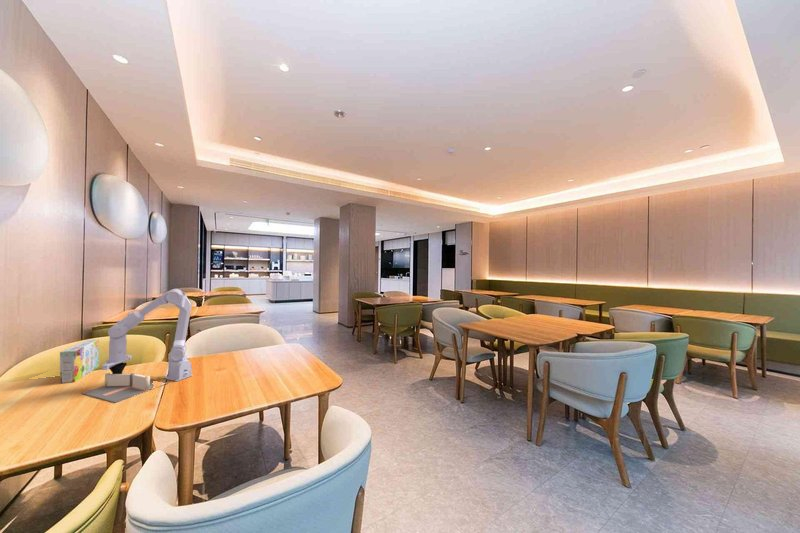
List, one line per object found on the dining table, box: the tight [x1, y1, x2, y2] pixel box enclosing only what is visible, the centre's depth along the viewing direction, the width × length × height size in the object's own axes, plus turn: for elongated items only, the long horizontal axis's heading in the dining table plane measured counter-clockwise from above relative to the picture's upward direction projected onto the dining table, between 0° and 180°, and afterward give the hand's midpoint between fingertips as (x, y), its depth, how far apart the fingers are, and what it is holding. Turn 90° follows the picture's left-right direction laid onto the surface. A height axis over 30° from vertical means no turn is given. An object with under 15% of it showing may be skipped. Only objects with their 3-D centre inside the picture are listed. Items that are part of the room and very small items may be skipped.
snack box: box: [59, 338, 100, 384], centre depth 142 cm, size 21×6×15 cm, turn 25°
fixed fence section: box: [132, 373, 151, 391], centre depth 129 cm, size 10×2×6 cm, turn 73°
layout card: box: [81, 378, 169, 404], centre depth 129 cm, size 22×20×1 cm
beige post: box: [104, 372, 135, 386], centre depth 130 cm, size 12×2×5 cm, turn 99°
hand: (117, 379), depth 131 cm, fingers closed, pressing on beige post
